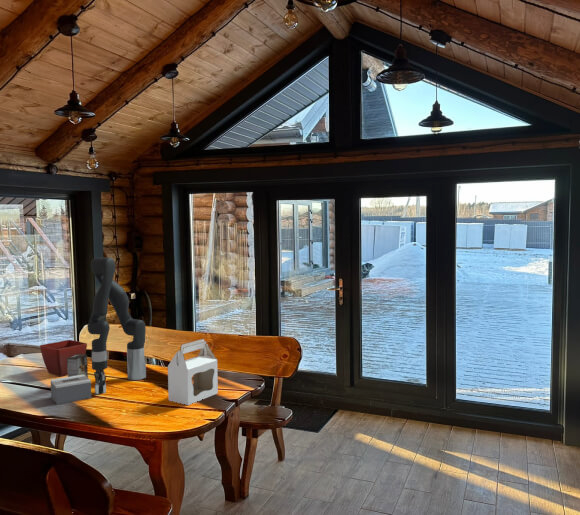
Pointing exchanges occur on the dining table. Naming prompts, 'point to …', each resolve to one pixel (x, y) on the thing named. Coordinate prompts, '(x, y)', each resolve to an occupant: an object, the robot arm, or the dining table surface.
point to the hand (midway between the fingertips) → (100, 392)
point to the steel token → (98, 388)
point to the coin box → (70, 389)
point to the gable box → (185, 369)
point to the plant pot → (60, 355)
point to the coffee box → (77, 365)
